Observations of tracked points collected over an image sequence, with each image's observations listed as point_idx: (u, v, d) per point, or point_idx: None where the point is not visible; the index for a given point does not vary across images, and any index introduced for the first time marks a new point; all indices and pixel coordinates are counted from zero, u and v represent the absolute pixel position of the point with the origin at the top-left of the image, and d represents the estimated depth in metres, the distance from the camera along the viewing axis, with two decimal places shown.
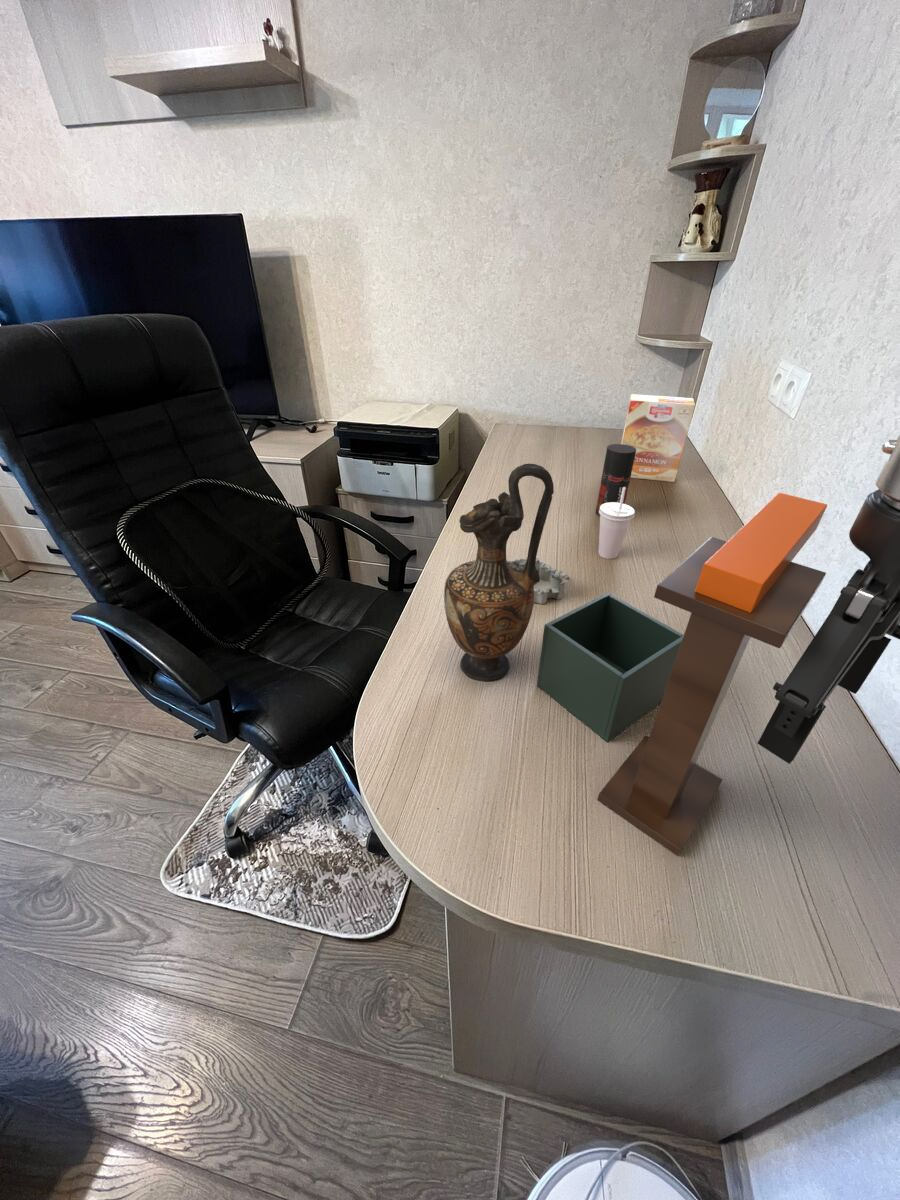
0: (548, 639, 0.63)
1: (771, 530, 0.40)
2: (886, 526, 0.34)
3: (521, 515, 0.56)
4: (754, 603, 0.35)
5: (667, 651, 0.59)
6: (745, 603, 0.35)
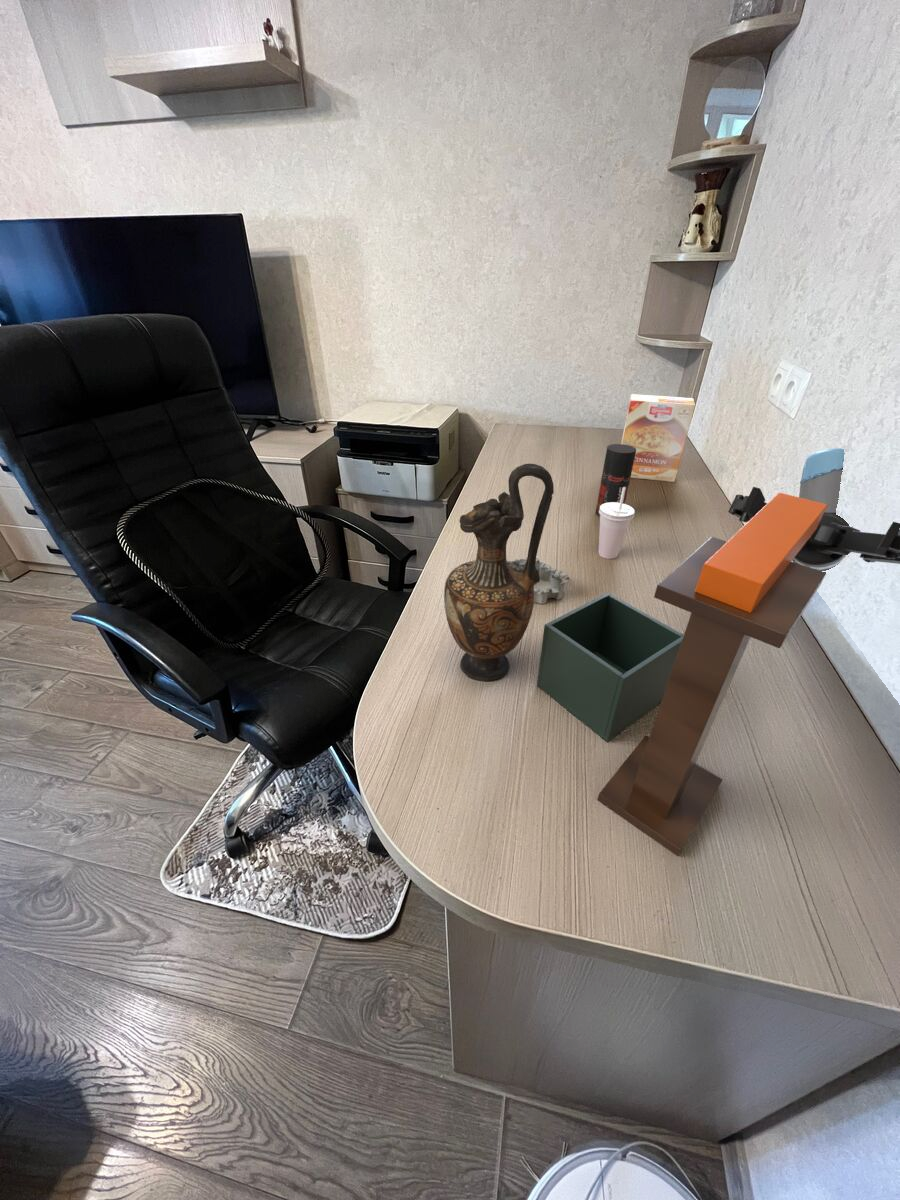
0: (548, 639, 0.63)
1: (771, 530, 0.40)
2: None
3: (521, 515, 0.56)
4: (754, 603, 0.35)
5: (667, 651, 0.59)
6: (745, 603, 0.35)
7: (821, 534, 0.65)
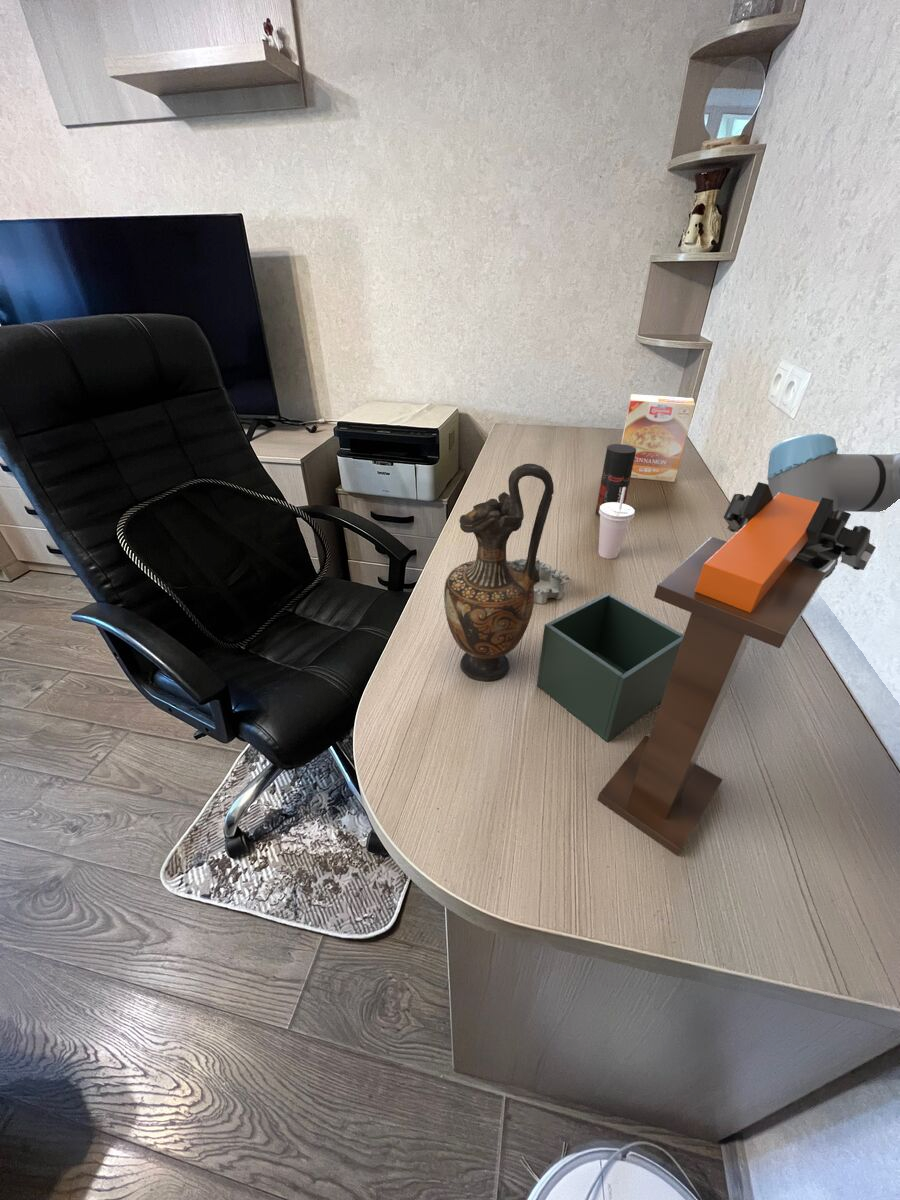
0: (548, 639, 0.63)
1: (771, 530, 0.40)
2: None
3: (521, 515, 0.56)
4: (754, 603, 0.35)
5: (667, 651, 0.59)
6: (745, 603, 0.35)
7: None
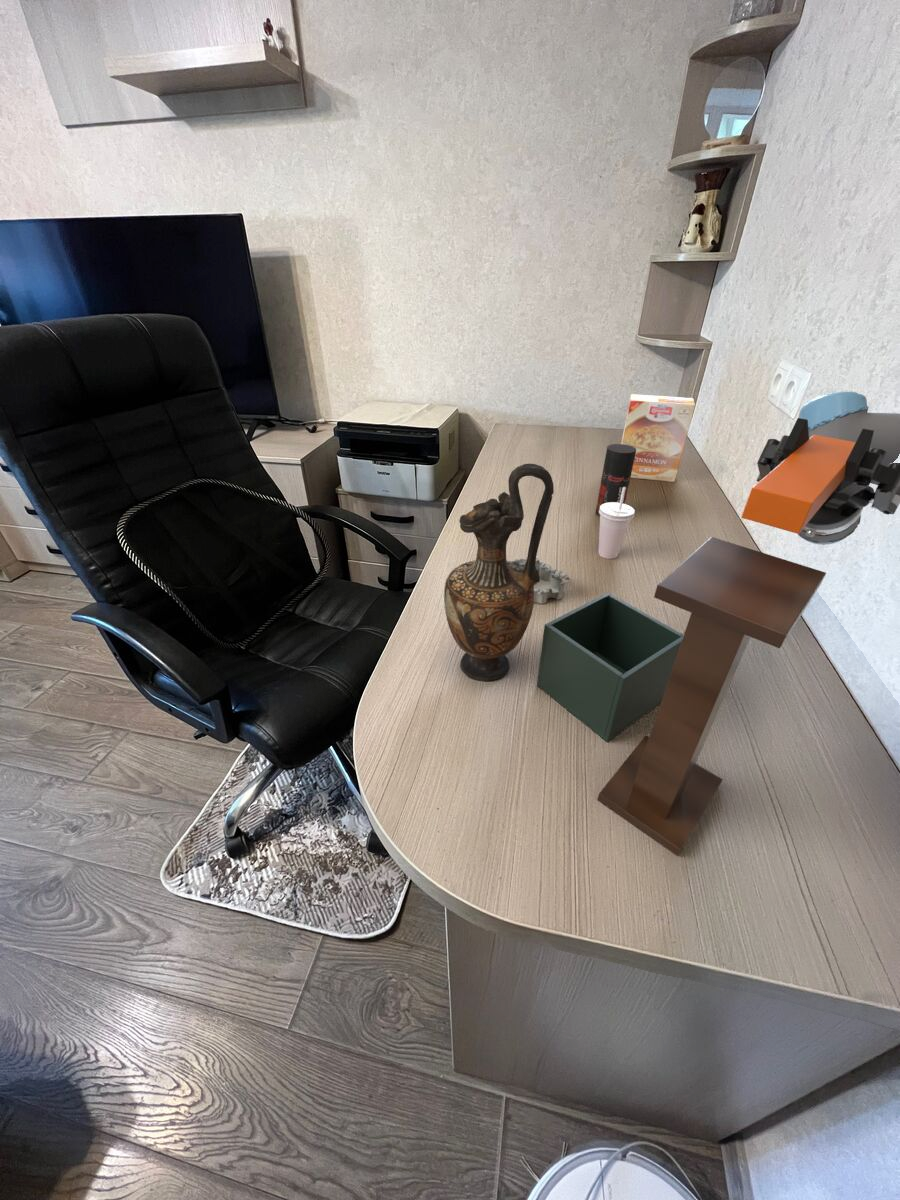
0: (548, 639, 0.63)
1: (812, 463, 0.41)
2: None
3: (521, 515, 0.56)
4: (802, 523, 0.36)
5: (667, 651, 0.59)
6: (793, 524, 0.36)
7: None
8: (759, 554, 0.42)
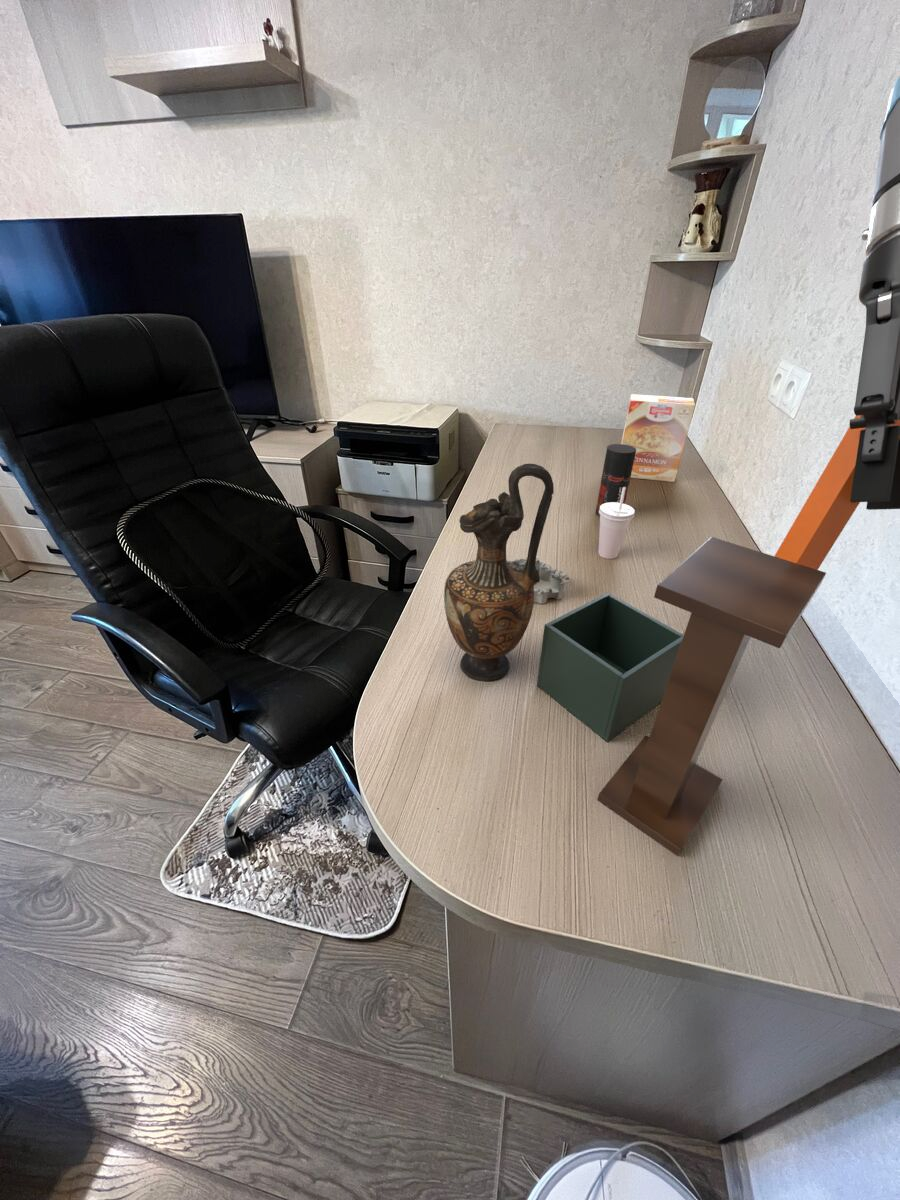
0: (548, 639, 0.63)
1: (840, 512, 0.50)
2: (886, 250, 0.45)
3: (521, 515, 0.56)
4: None
5: (667, 651, 0.59)
6: None
7: None
8: (759, 554, 0.42)
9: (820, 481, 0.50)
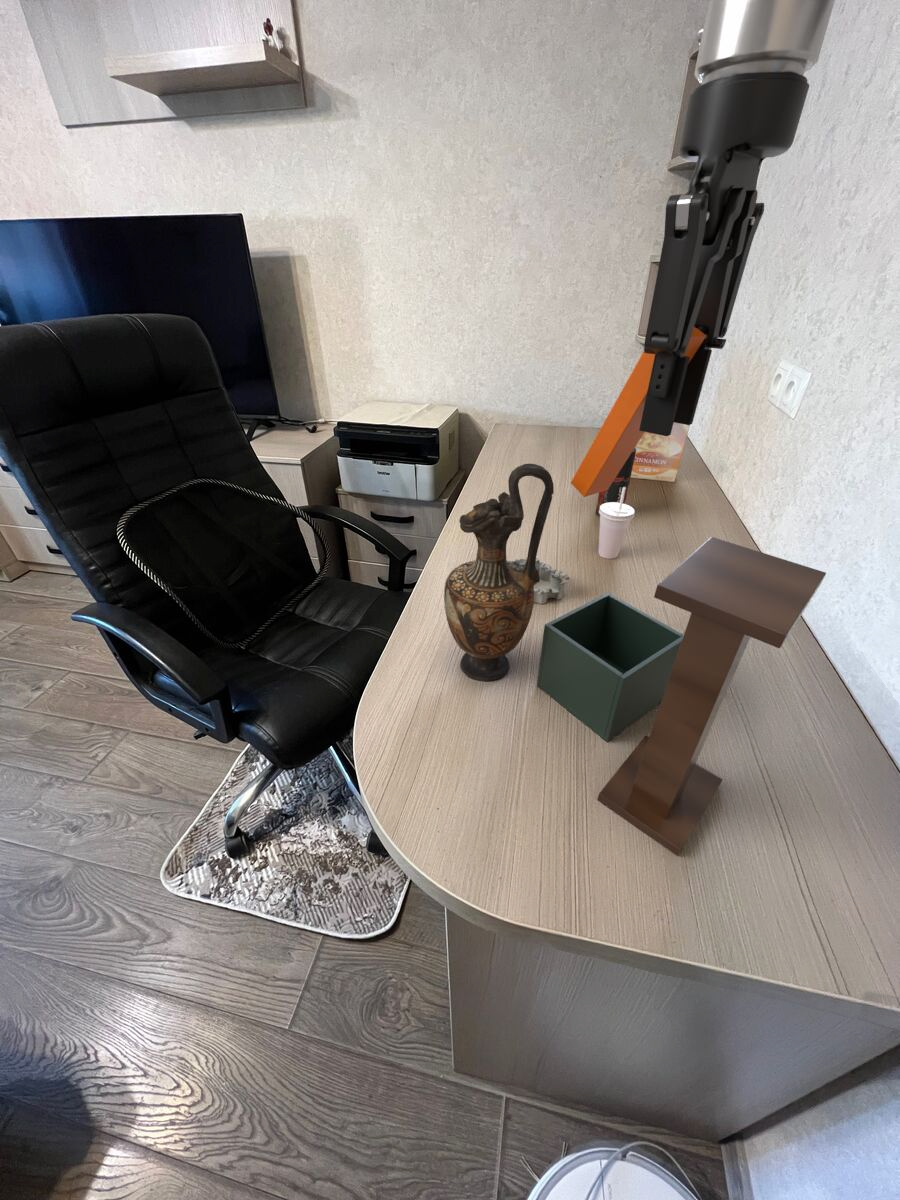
0: (548, 639, 0.63)
1: (637, 427, 0.50)
2: (705, 101, 0.34)
3: (521, 515, 0.56)
4: None
5: (667, 651, 0.59)
6: None
7: None
8: (759, 554, 0.42)
9: (621, 397, 0.48)
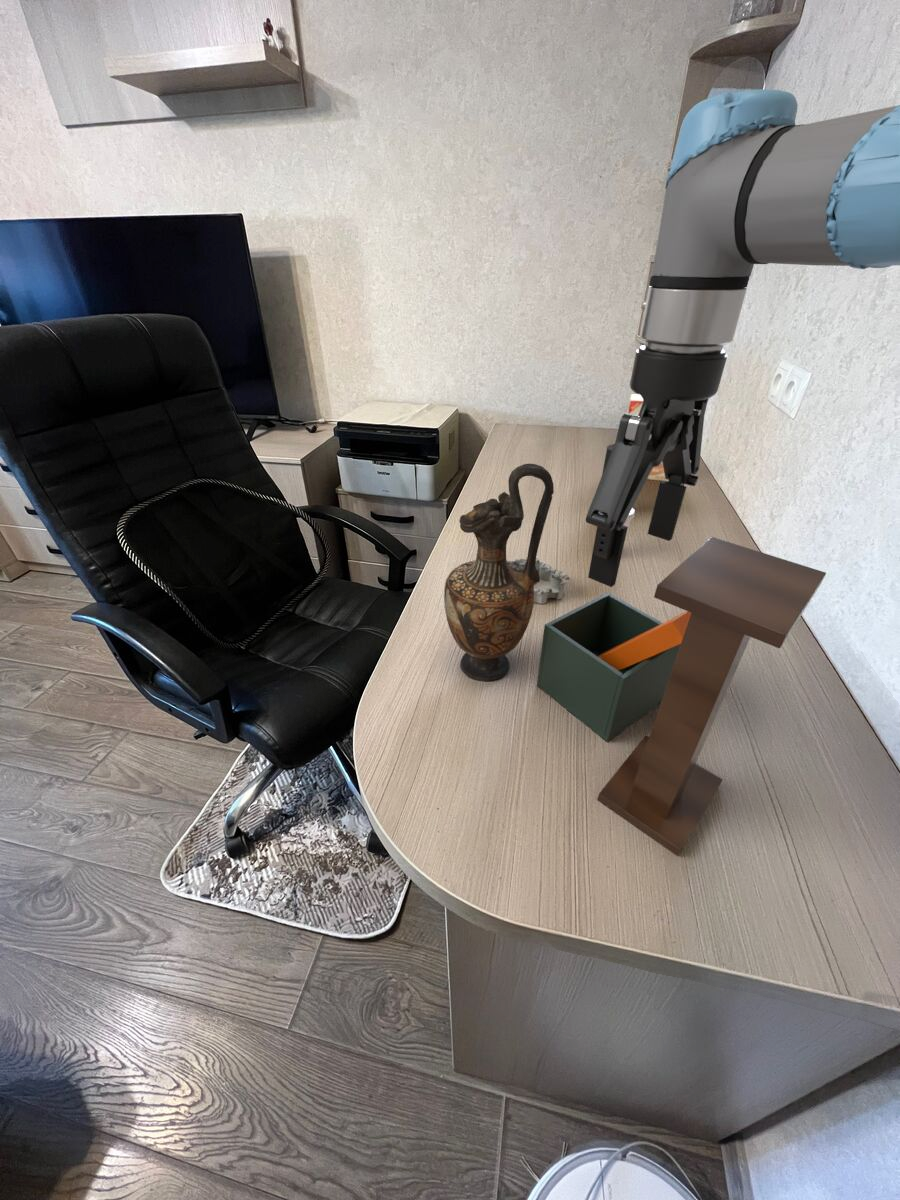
0: (548, 639, 0.63)
1: (624, 643, 0.61)
2: (647, 364, 0.43)
3: (521, 515, 0.56)
4: None
5: (667, 651, 0.59)
6: None
7: None
8: (759, 554, 0.42)
9: None
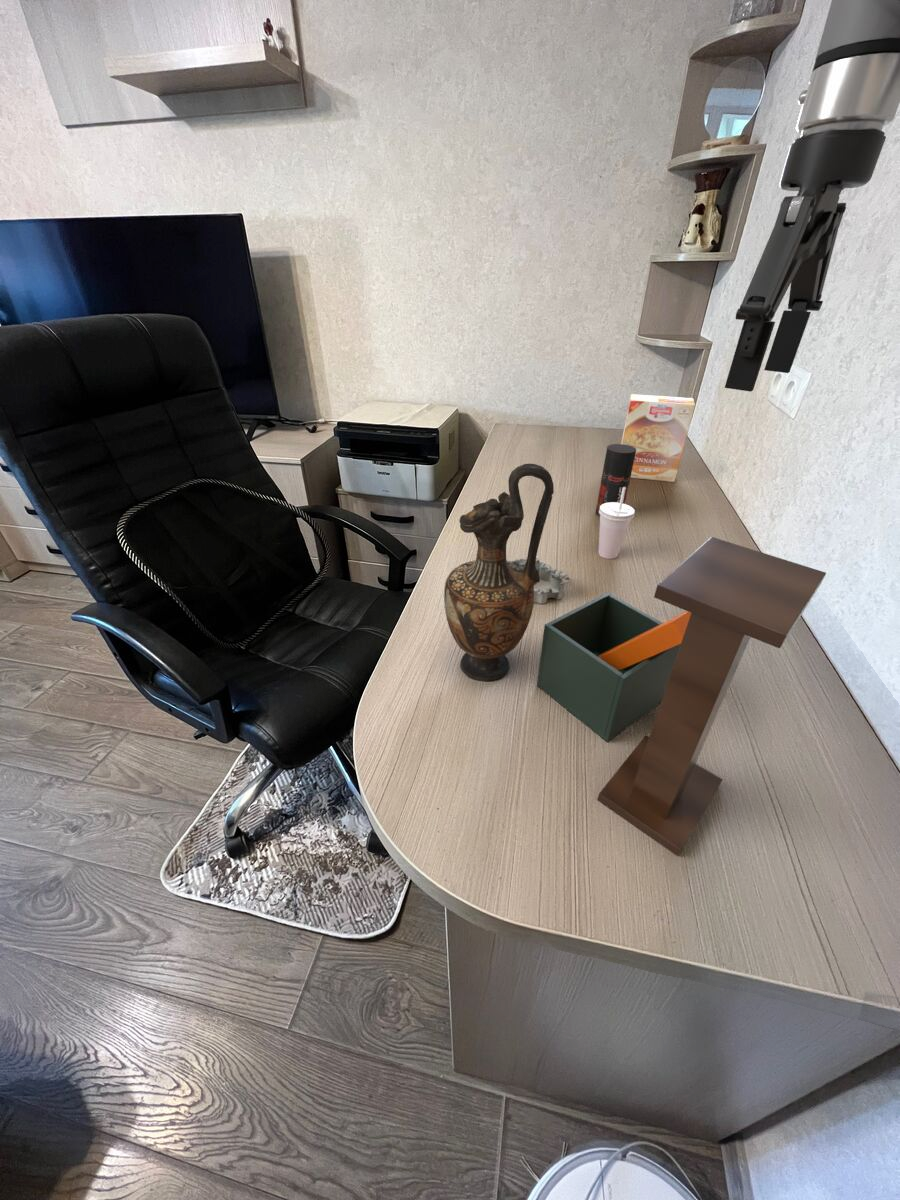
0: (548, 639, 0.63)
1: (624, 643, 0.61)
2: (808, 148, 0.46)
3: (521, 515, 0.56)
4: None
5: (667, 651, 0.59)
6: None
7: None
8: (759, 554, 0.42)
9: None
